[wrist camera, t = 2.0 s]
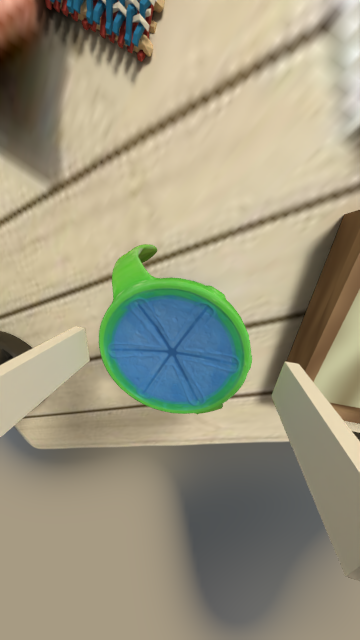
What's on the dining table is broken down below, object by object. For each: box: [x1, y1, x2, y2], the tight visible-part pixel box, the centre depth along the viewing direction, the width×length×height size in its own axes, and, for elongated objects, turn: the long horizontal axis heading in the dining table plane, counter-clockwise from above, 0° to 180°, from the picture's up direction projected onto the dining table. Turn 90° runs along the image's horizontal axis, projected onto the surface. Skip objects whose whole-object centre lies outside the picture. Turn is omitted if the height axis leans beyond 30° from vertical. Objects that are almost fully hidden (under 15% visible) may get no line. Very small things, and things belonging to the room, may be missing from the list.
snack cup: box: [99, 244, 252, 414], centre depth 16 cm, size 16×10×10 cm
